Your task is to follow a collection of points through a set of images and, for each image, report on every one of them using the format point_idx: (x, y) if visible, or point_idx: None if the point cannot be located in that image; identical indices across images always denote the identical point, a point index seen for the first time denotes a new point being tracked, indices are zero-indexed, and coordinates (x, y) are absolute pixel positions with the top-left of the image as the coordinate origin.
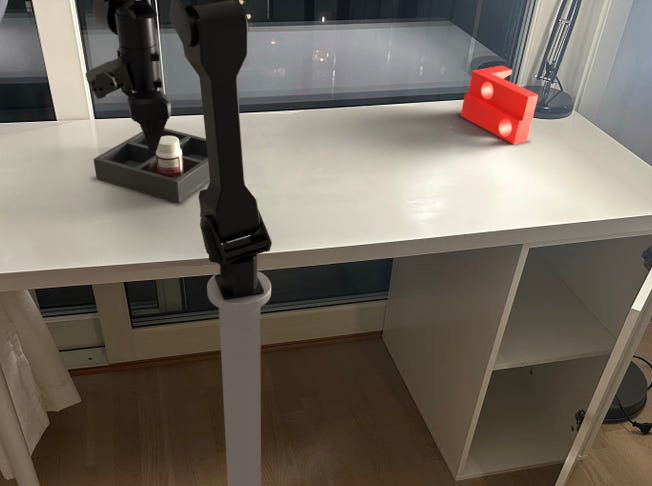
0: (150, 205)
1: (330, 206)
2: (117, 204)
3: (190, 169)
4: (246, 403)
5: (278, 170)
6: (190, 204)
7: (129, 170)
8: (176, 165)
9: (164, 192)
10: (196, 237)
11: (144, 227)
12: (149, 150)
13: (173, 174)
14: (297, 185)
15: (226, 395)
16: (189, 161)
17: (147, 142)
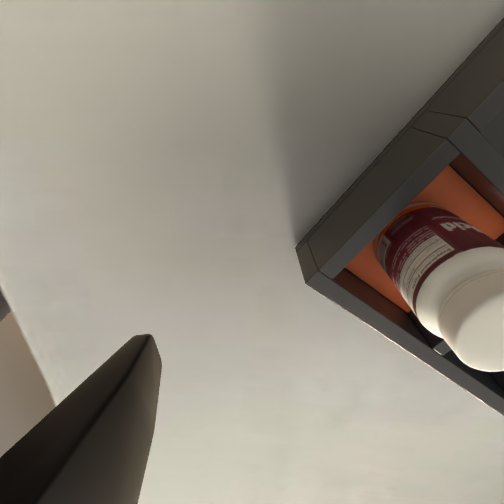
0: (295, 163)
1: (235, 491)
2: (325, 38)
3: (391, 323)
4: None
5: (408, 444)
6: (282, 274)
7: (474, 103)
8: (403, 296)
9: (333, 218)
10: (100, 280)
11: (150, 142)
12: (128, 342)
13: (389, 267)
14: (329, 463)
15: None
16: None
17: (74, 396)
